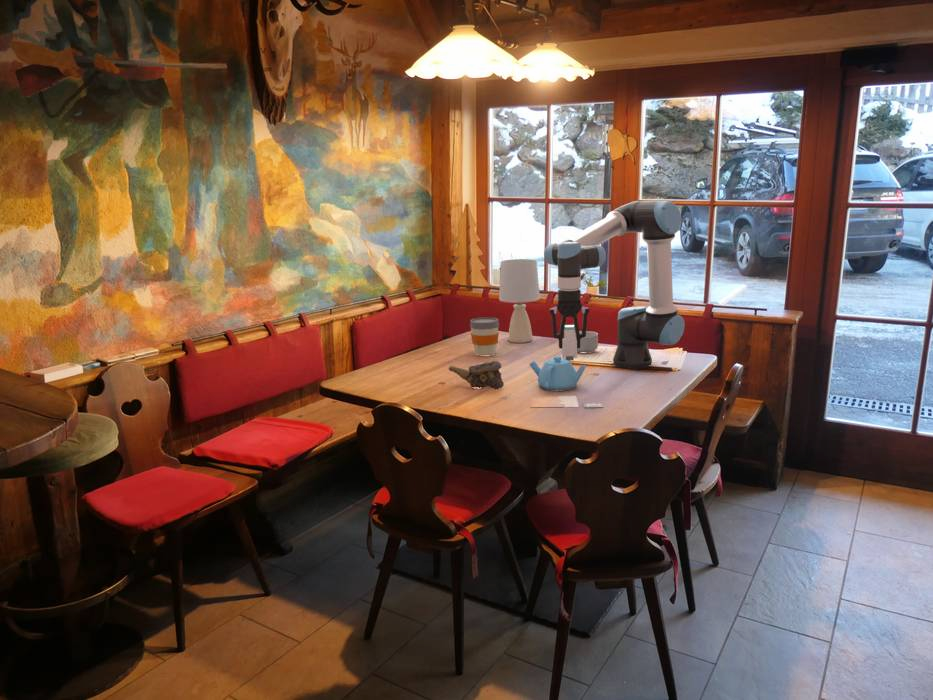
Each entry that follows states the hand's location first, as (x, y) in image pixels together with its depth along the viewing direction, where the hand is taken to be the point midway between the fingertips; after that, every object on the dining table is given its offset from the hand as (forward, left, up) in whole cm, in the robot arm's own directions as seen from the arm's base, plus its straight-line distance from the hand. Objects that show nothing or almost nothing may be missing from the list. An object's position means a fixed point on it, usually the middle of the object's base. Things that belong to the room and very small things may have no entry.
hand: (569, 357), depth 258 cm
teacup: (-10, -71, -15) cm, 74 cm away
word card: (-7, +8, -15) cm, 18 cm away
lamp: (+18, -94, -15) cm, 97 cm away
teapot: (+4, -17, -15) cm, 23 cm away
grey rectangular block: (0, 0, -1) cm, 1 cm away
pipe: (+34, -17, -15) cm, 41 cm away
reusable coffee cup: (+33, -69, -15) cm, 78 cm away
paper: (+6, +3, -15) cm, 16 cm away
